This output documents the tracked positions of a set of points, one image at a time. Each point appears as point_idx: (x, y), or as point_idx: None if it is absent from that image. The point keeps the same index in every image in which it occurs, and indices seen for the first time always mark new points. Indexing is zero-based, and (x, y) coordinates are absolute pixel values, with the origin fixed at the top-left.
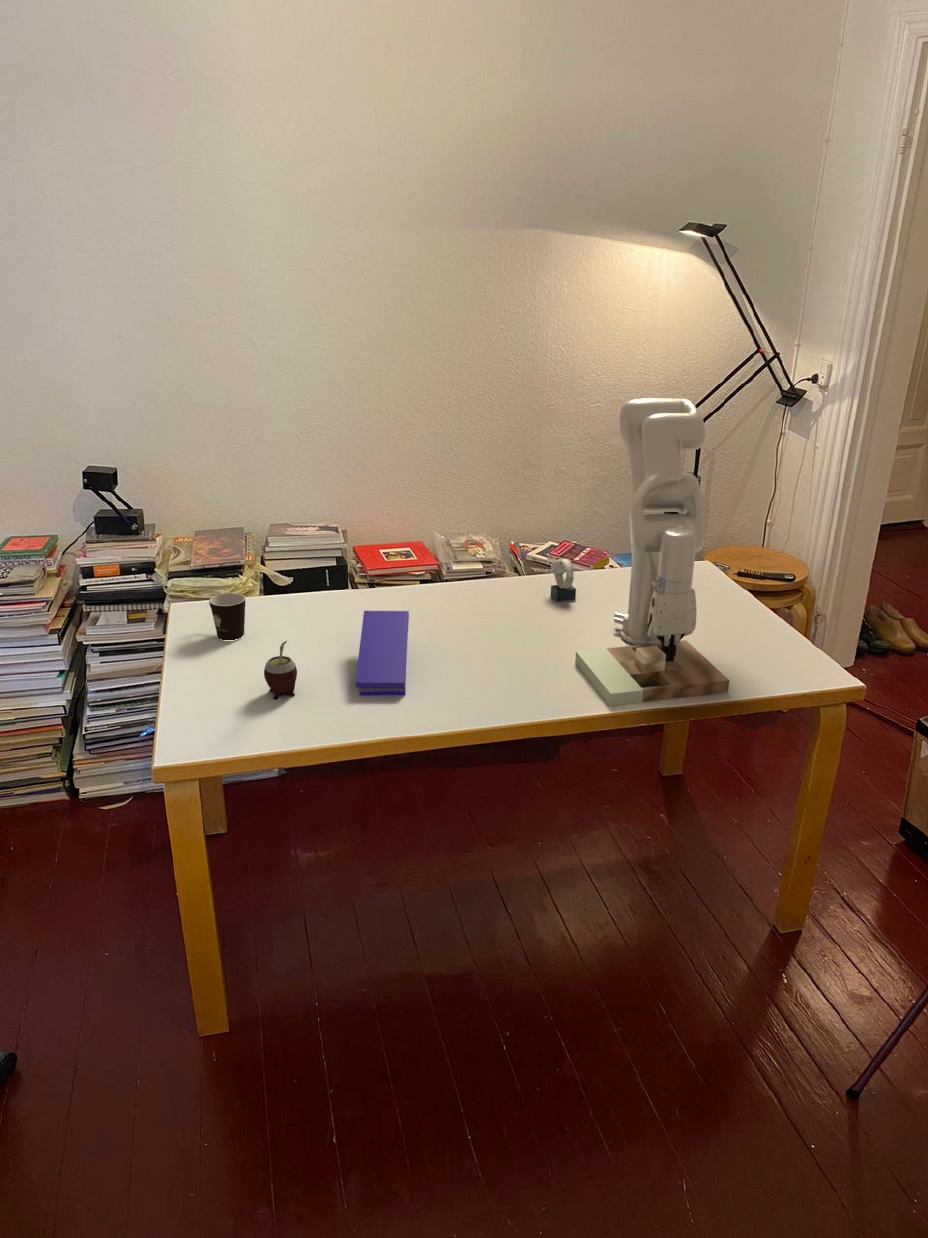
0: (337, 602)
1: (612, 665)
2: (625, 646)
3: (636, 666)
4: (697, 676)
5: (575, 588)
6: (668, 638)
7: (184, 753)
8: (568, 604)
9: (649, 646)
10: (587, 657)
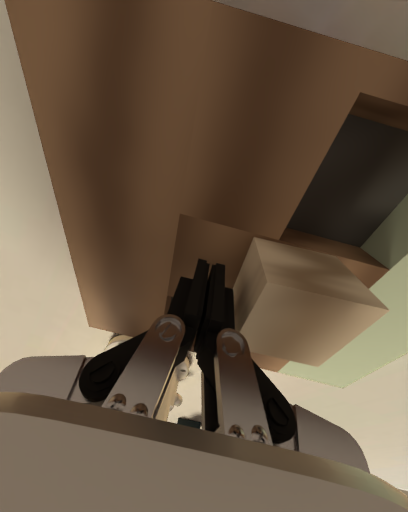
0: (379, 477)
1: None
2: None
3: None
4: (162, 115)
5: None
6: (226, 385)
7: None
8: (192, 417)
9: (261, 353)
10: (354, 370)
